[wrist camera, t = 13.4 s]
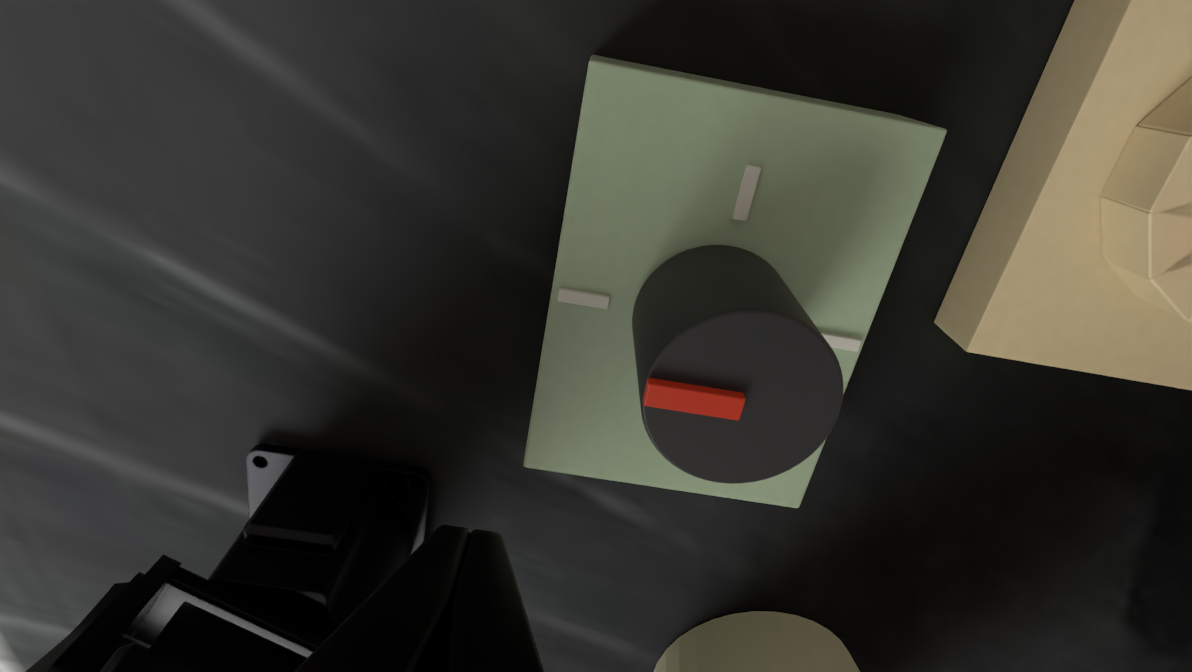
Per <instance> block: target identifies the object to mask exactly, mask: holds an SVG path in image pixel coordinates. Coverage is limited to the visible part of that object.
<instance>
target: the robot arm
mask: <svg viewBox="0 0 1192 672" xmlns="http://www.w3.org/2000/svg"><path fill="white" fill-rule="evenodd" d="M259 456H261V457H264V458H265V459H266V460H267V461H264V460H262V459H261V458H259ZM246 469H247V487H248V505H249V521H248V522H247V523H246V525H245V526H244V529H243V531H242V532H241V533H240V535H239V536H238V538H237V539H236V540H235V542H234V543H233V545H232V546H231V548H230V549H229V550H228V552H227V553H226V555H225V556H224V557H223V559H222V560H221V562H220V563H219V564H218V566H217V567H216V569H215V570H214V572H213V573H212V574H211V576H210V577H209V579H208V580H207V579H205V578H203V577H201V576H199V575H197V574H195V573H192V572H190V571H188V570H186V569H184V568H182V567H180V565H181V563H180V562H178V561H176V560H174V559H172V558H170V557H168V556H165V555H163V556H162V557H161V558H160V559H159V560H158V561H157V562H156V563H155V564H154V565H153V567H152V568H151V569H150V570H149V571H148V572H147V573H146V574H143V573H140V572H139V573H138V574H137V575H136V576H135V577H134V578H133V579H132V580H131V581H130V582H127V583H117V584H114V585H113V586H112V588H111V589H110V590H109V591H108V592H107V593H106V595H105V596H104V597H103V598H102V599H101V600H100V601H99V603H98V604H97V605H96V606H95V607H94V608H93V609H92V611H91V612H90V613H89V614H88V615H87V616H86V617H85V619H84V620H83V621H82V622H81V623H80V624H79V625H78V626H77V627H76V628H75V629H74V630H73V631H72V632H71V633H70V634H69V635H68V636H67V637H66V638H65V639H64V640H62V641H61V642H60V643H59V644H58V645H56V646H55V647H54V648H53V649H52V650H51V651H49V652H48V653H47V654H46V655H45V656H44V657H42V658H41V659H40V660H39V661H38V662H36V663H35V664H34V665H33V666H32V667H31V668H29V669H28V670H27V671H26V672H544V671H543V667H542V664H541V661H540V658H539V654H538V651H537V648H536V644H535V641H534V638H533V635H532V631H531V628H530V625H529V621H528V618H527V615H526V611H525V608H524V605H523V602H522V598H521V595H520V592H519V588H518V585H517V582H516V578H515V575H514V572H513V569H512V565H511V562H510V559H509V555H508V552H507V549H506V546H505V542H504V539H503V537H502V535H501V534H500V533H498V532H492V531H485V530H478V529H475V530H473V531H472V532H471V534H470V530H469V529H468V528H464V527H457V526H450V525H441V526H439V527H438V528H437V529H436V530H435V531H434V532H433V533H432V534H431V535H430V536H429V537H428V538H427V539H426V535H427V524H428V513H429V502H430V491H431V475H430V473H429V472H428V471H427V470H425V469H424V468H421V467H416V466H410V465H403V464H396V463H390V462H383V461H376V460H369V459H363V458H356V457H349V456H342V455H336V454H329V453H322V452H316V451H309V450H302V449H295V448H289V447H282V446H275V445H268V444H258V445H256V446H255V447H254V448H253V449H252V450H251V451H250V452H249V454H248V455H247V457H246ZM411 479H417V480H419V481H420V482H421V483H415V482H413V481H412V480H411Z"/></svg>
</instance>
